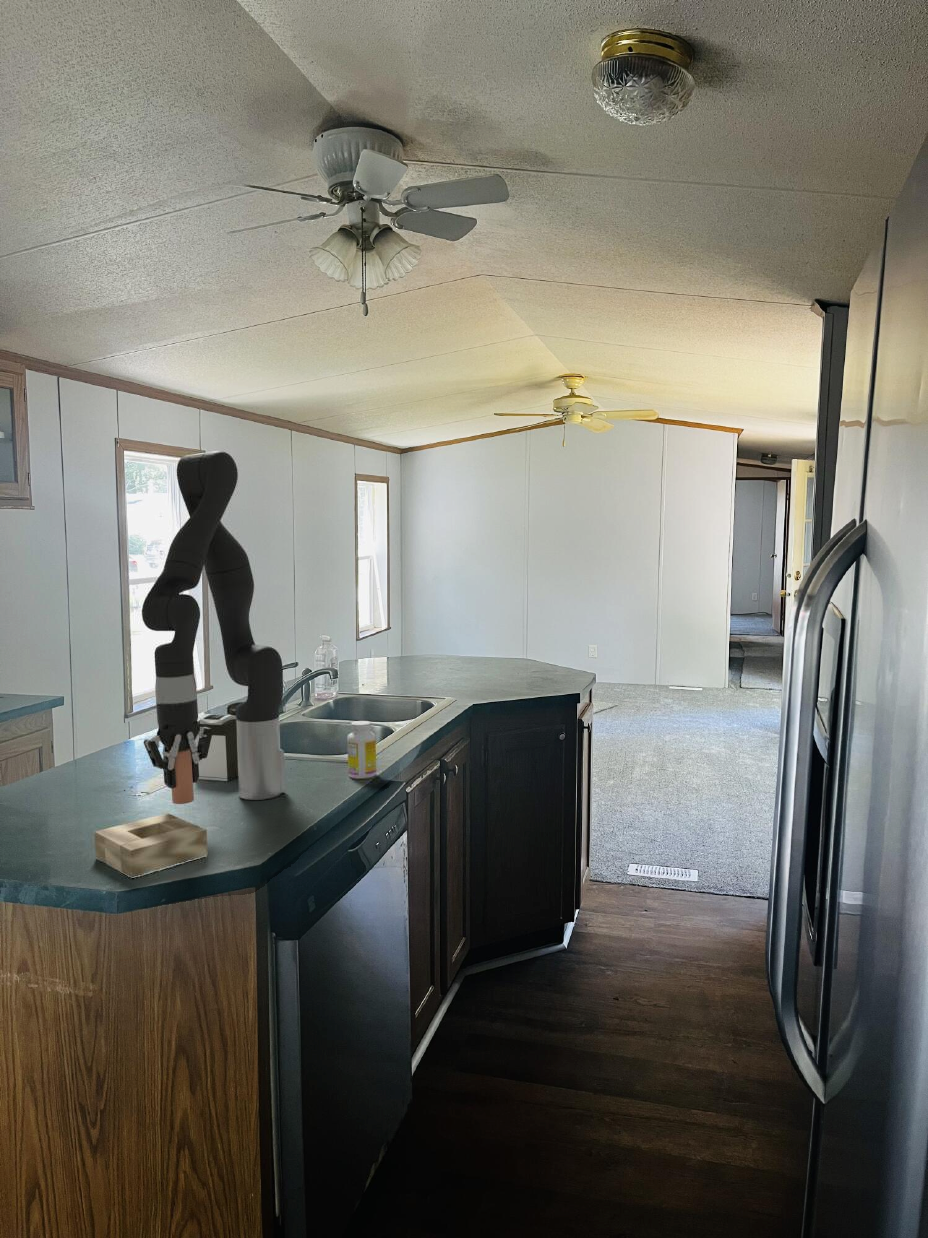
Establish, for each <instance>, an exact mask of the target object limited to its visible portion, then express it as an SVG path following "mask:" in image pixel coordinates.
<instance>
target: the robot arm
mask: <svg viewBox="0 0 928 1238" xmlns="http://www.w3.org/2000/svg"><path fill="white" fill-rule="evenodd" d="M238 475H239V473H238V467H237V464H236V462H235V459H234V458H233V457H232V456H231V454H229V453H227V452H226V451H221V450H215V451H214V450H213V451H208V452H207V451H206V452H201V453H193V454H188V455H184V456H182V457H180V459H179V460H178V462H177V465H176V478H177V483H178V489H179V491H180V494H181V496H182V499H183V501H184V505H185V507H186V510H187V513H188V515H189V518H188V519H187V521H185V522H184V524H183V525H182V526H181V528H180V529H179V530H178V532H177V533H176V535H175V536H174V537H173V539H172V541H171V544H170V546H169V548H168V551H167V554H166V559H165V562H164V566H163V570H162V572H161V573H160V574H159V576H158V578H157V579H156V581H155V582H154V584H153V585H152V587H151V588H150V590H149V591H148V593H147V595H146V596H145V598H144V601H143V603H142V606H141V607H142V608H141V617H142V621H143V623H144V625H145V627H146V628H147V629H149V630H151V631H153V632H154V631H155V632H174V635H173V639H172V641H171V642H167V643H166V642H165V643H164V644H160V645H158V646H157V647H155V649H154V668H155V670H154V671H155V685H154V692H155V705H156V706H155V707H156V719H157V721H156V722H157V725H158V729H157V732H156V735H154V736H152V737H151V738H146V739H144V740H143V745H144V747H145V750H146V753H147V755H148V758H149V759H150V762H151V763H152V764H151V765H152V766H153V767H155V768H158V769H160V770H163V773H164V783H165V785H167V786H166V787H167V788H168V789H169V788H170V789H171V790H172V788H176V779H175V769H173V768H174V762H175V758H176V757H177V753H178V751H180V750H181V749H190V750H191V759H192V775H193V784H194V783H195V784H196V783H198V780H199V779H198V778H199V765H198V764H199V761H200V760H202V759H203V758H206V757H207V755H208V751H209V747H210V742H211V738H212V734H213V729H211V728H207V727H200V726H199V724H198V721H199V720H198V719H199V710H198V709H199V707H198V691H197V682H196V677H195V668H194V664H195V663H194V650H195V644H196V638H197V632H198V630H199V625H200V619H201V609H200V606H199V603H198V601H197V600H196V598H195V597H194V596H193V595H190V594H187V593H185V594H184V592H186V591H189V590H193V589H195V588H196V587H198V584H199V583H200V580H201V576H202V574H203V573H202V572H203V570H205V575H206V579H207V582H208V586H209V589H210V593H211V596H212V600H213V604H214V607H215V612H216V617H217V621H218V625H219V629H220V633H221V634H220V635H221V641H222V647H223V654H224V660H225V666H226V669H227V670H226V671H227V672H228V676H229V677H230V679H231V680H232V681H233V683H236V684H237V685H240V686H244V687H247V698H246V700H245V701H243V702H244V703H242V704H240V705H238V706H237V708H236V729H237V756H238V776H237V777H238V780H237V781H238V787H237V788H238V796H239V798H241V799H243V800H248V801H250V800H251V801H259V800H268V799H272V798H276V797H278V796H280V795H281V794H283V793H286V771H285V750H284V749H282V748H281V737H280V736H281V733H280V709H281V706H282V702H283V694H284V693H283V690H284V689H283V687H284V685H283V684H284V682H283V681H284V680H283V679H284V667H283V661H282V658H281V654H280V653H279V652H278V650H277V649H275V648H273V647H272V646H268V645H259V644H256V643H255V640H254V637H253V634H252V633H253V632H252V629H251V626H250V625H251V624H250V611H251V607H252V601H253V598H254V592H255V581H254V576H253V572H252V571H253V570H252V568H251V567H252V566H251V563H250V560H249V556H248V554H247V552H246V550H245V549H244V548H243V546H242V545H241V543H240V542H239V541H238V540H237V539H236V538H235V537H234V535H233V534H232V533H231V532H230V531H229V530H228V529H227V528H226V527H225V526H224V524H223V523H222V518H223V516H224V514H225V511H227V510H226V509H227V507H228V505H229V503H230V500H231V499H232V497H233V495H234V492H235V490H236V487H237V483H238V477H239V476H238ZM197 735H198V736H199V741H198V745H197V747H196V744H195V739H196V737H197ZM160 743H161V744H162V745H163V748H162V753H161V752H160V750H159V748H160ZM170 750H171V752H170Z"/></svg>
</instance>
